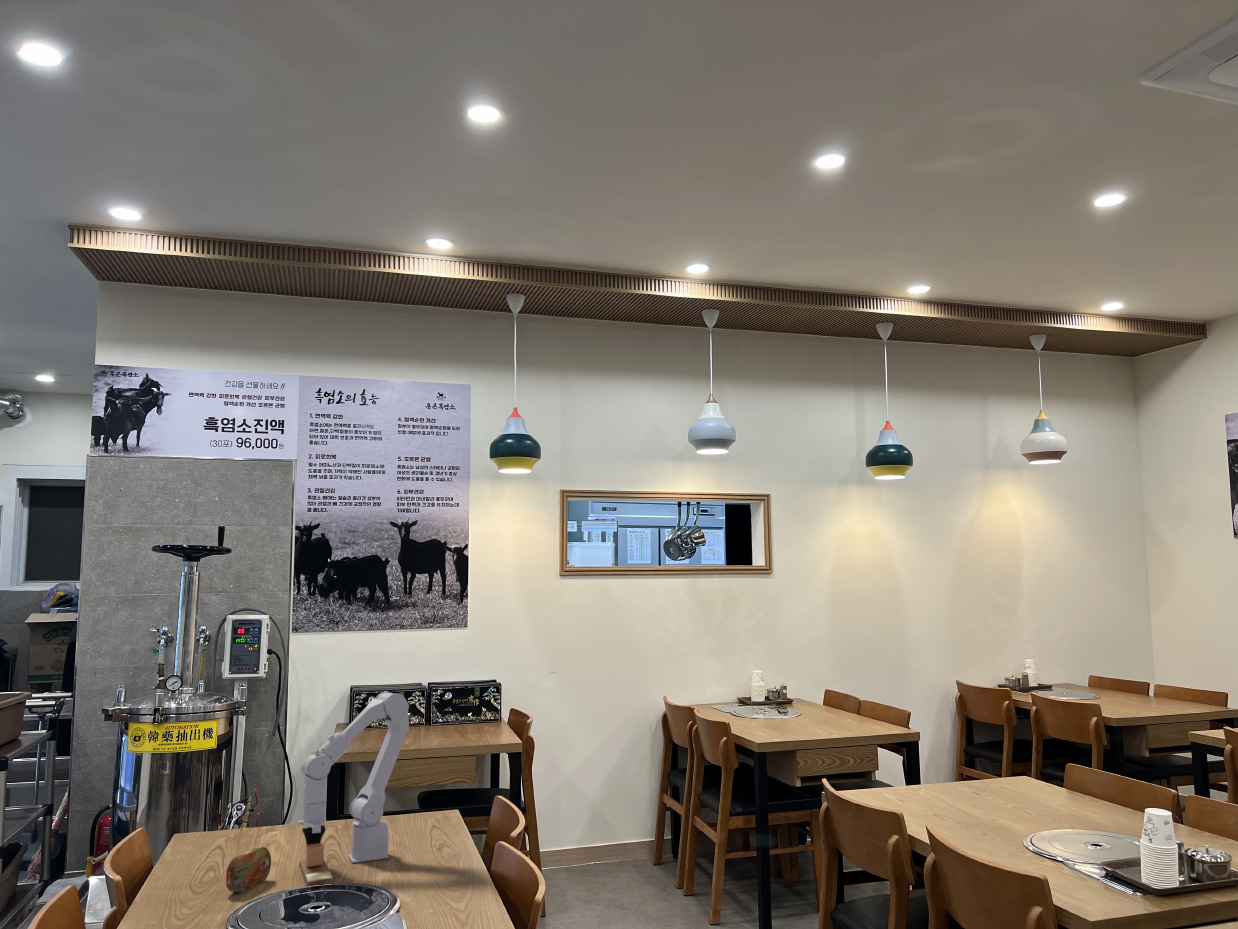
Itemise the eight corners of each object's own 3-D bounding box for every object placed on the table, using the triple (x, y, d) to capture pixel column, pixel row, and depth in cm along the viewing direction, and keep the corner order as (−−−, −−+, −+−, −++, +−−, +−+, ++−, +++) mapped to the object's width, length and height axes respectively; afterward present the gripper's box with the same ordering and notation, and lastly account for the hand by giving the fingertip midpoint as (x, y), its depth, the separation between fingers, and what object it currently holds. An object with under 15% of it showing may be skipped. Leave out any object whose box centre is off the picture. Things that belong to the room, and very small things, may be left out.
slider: (321, 861, 225) (321, 842, 226) (323, 864, 222) (323, 846, 223) (305, 863, 224) (305, 844, 224) (306, 867, 220) (307, 848, 221)
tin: (234, 897, 203) (236, 859, 204) (222, 897, 204) (224, 859, 205) (271, 878, 217) (273, 843, 219) (260, 878, 218) (262, 843, 220)
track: (322, 863, 230) (322, 857, 230) (333, 885, 211) (333, 878, 211) (299, 866, 228) (299, 860, 228) (307, 888, 208) (307, 882, 208)
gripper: (296, 799, 233) (294, 852, 231) (301, 809, 220) (299, 865, 218) (323, 796, 236) (321, 848, 234) (329, 806, 223) (328, 861, 221)
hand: (312, 856), depth 226 cm, fingers closed
